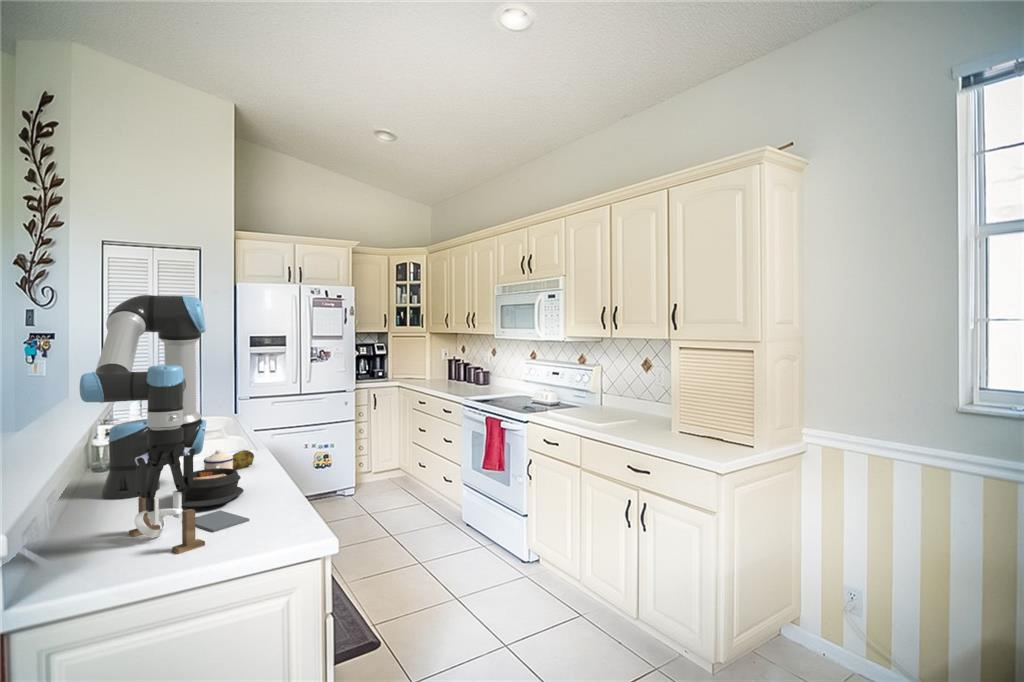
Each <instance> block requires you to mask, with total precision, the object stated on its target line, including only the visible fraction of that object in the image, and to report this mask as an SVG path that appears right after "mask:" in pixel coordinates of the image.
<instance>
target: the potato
mask: <svg viewBox="0 0 1024 682" xmlns="http://www.w3.org/2000/svg"><path fill="white" fill-rule="evenodd" d="M232 456H233V458H234V459H233V469H235V470H237V471H238V470H242V469H244V468H246V467H249V466H252V465H253V462H254V459H255V455H254V453H253V452H252V451H250V450H245V449H243V450H240V451H238V452H236V453H234V454H232Z"/></svg>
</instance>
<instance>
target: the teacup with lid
mask: <svg viewBox="0 0 1024 682" xmlns="http://www.w3.org/2000/svg"><path fill="white" fill-rule="evenodd" d="M233 459H234V458H233V454H227V453H225V452H223V450H222V449H217V450H215V452H214V453H212V454H211V455H210V456H207V457H205V458H204V459H203V463H204V464H203V466H204V467H203V470H206V469H215V468H228V469H233Z"/></svg>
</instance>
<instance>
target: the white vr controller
mask: <svg viewBox="0 0 1024 682" xmlns="http://www.w3.org/2000/svg"><path fill="white" fill-rule="evenodd" d="M182 511H184V509H183V508H182V509H180V508H176V509H173V508H159V522H160V524H161V528H160V530H153V529H151V528H149V527H148V526H147V525H146V524H145V523H144V520H143V516H144V514H145V513H148V518H149V519H150V512H148V511H143V512H140V513H139V512H137V514H136V515H135V517H134V525H135V528H137V529H138V530H139V531H140V532H141V533H142V535H144V536H145V537H147V538H148V537H149V538H157V537H160V536H161V535H162V534H163V532H164V531H165V528H166V524H167V523H166V520H165V517H166V516H168V517H169V516H170V517H171V516H173V515H180V514H181V513H182Z"/></svg>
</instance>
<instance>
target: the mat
mask: <svg viewBox="0 0 1024 682" xmlns="http://www.w3.org/2000/svg"><path fill="white" fill-rule="evenodd" d="M249 521H250V518H249V517H246V516H245V517H244V516H241V515H239V514H234V513H231V512H228V511H225V510H221V509H220V510H216V511H212V512H210V513H206V514H202V515H199V516H195V528H196V527H197V528H198V529H199V528H200V529H203V530H206V531H209V532H211V533H215V532H218V531H222V530H224V529H227V528H231V527H234V526H237V525H241V524H244V523H246V522H249Z"/></svg>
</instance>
